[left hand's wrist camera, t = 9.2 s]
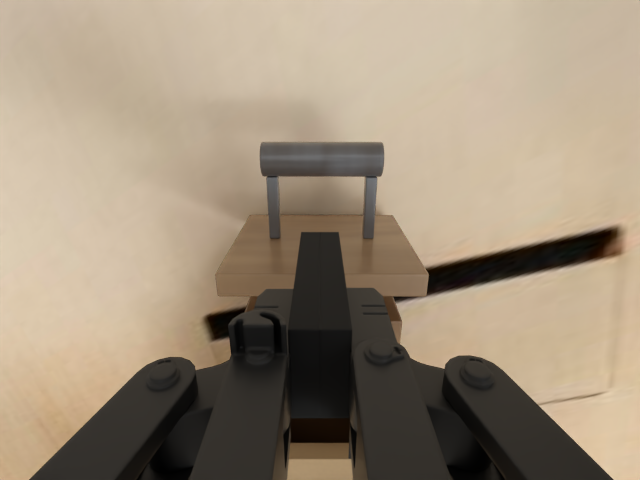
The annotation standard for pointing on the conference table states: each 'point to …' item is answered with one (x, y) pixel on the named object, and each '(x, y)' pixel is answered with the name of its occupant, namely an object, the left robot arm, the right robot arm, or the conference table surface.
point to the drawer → (354, 231)
